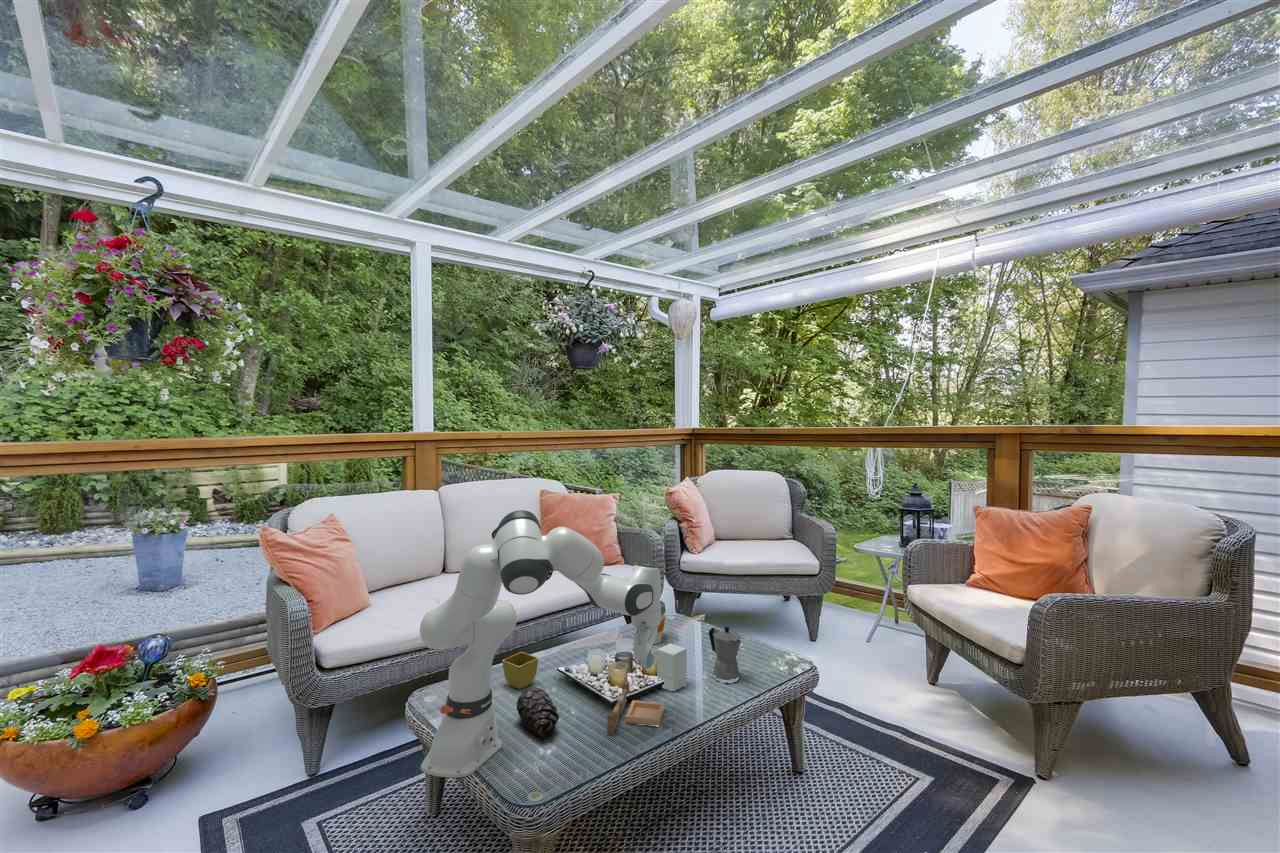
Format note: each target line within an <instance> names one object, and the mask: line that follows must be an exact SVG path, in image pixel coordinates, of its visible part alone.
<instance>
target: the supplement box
mask: <svg viewBox="0 0 1280 853" xmlns="http://www.w3.org/2000/svg"><path fill="white" fill-rule="evenodd" d="M656 651H657V652H656V655H657V656H656V660H657V662H656V663H657V664H656V666H657V667H656V668H657V669H656V670H657V671H656V677H658V678H660V679H663V680H664V684H663V685H662V688H661V689H664V690H666V689H667V690H666V691H669V690H670V691H669V692H671V691H675V690H677V689H678V688H681V687H682V686H684V685H686V686H687V648H686V647H682V646H679V645H678V644H677V645H676V644H674V643H668V644H666V645H664V646H662V647H661V646H660V647H659V648H657V649H656ZM681 689H682V688H681ZM677 691H678V690H677ZM675 692H676V691H675Z"/></svg>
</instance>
